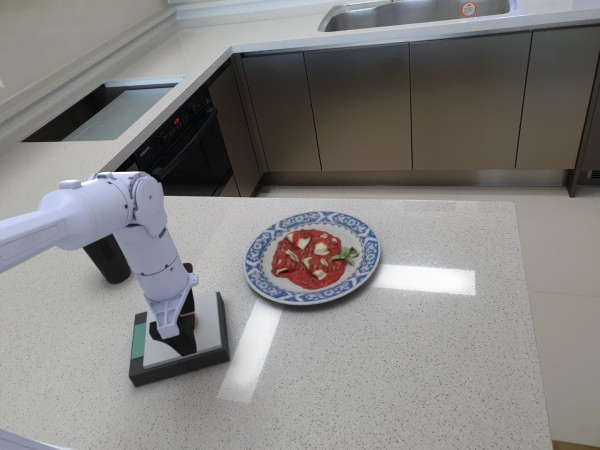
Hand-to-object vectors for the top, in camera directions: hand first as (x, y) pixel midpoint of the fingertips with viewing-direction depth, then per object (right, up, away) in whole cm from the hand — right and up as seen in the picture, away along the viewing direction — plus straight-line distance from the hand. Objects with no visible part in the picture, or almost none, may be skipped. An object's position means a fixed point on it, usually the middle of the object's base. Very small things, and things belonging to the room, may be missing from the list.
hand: (188, 331), depth 64 cm
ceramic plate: (+18, +8, +23) cm, 30 cm away
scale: (-3, -4, +12) cm, 13 cm away
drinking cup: (-21, +4, +29) cm, 36 cm away
